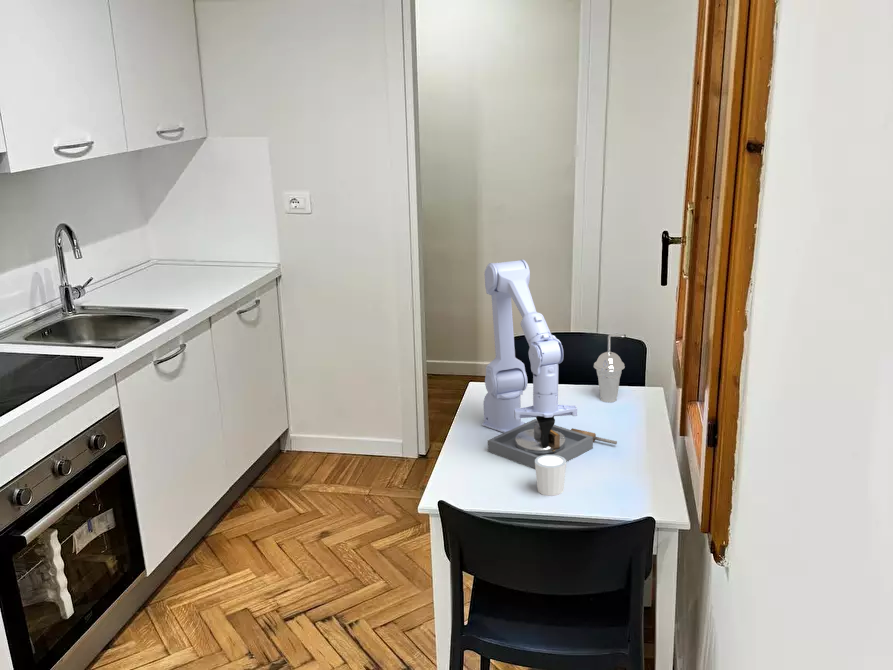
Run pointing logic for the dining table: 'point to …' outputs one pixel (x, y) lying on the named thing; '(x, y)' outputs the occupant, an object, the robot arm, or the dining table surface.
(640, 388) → the dining table surface
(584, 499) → the dining table surface
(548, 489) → the white fluted cup
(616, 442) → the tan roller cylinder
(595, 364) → the cup with straw
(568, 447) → the tray
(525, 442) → the dial
